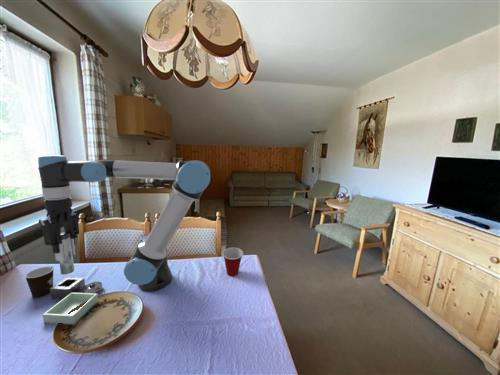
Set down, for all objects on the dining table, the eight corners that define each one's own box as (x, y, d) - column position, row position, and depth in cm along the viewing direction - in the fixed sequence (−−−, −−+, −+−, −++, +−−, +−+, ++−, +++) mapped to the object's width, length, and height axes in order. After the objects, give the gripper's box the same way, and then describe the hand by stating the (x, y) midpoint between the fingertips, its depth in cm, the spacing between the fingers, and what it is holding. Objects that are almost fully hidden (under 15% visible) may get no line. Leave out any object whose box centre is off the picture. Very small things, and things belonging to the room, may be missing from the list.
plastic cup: (219, 278, 106) (219, 256, 104) (225, 266, 116) (225, 246, 114) (240, 280, 104) (241, 258, 102) (244, 268, 115) (244, 248, 113)
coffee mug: (39, 301, 86) (35, 279, 85) (23, 297, 88) (19, 276, 86) (68, 284, 98) (65, 264, 96) (53, 281, 99) (50, 262, 98)
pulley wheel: (106, 286, 97) (105, 279, 96) (94, 296, 90) (93, 289, 89) (91, 285, 97) (90, 279, 96) (78, 296, 90) (77, 289, 90)
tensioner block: (85, 287, 96) (84, 277, 95) (70, 300, 88) (68, 289, 87) (68, 287, 96) (66, 277, 95) (51, 299, 88) (49, 288, 87)
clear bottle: (77, 269, 84) (72, 232, 81) (67, 274, 80) (62, 236, 77) (67, 268, 84) (62, 231, 81) (57, 274, 80) (52, 235, 77)
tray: (98, 301, 87) (97, 293, 87) (73, 324, 76) (72, 315, 75) (72, 300, 88) (71, 292, 87) (43, 323, 76) (42, 314, 75)
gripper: (69, 193, 85) (76, 246, 89) (21, 203, 69) (32, 268, 73) (86, 193, 85) (93, 247, 89) (43, 203, 68) (53, 269, 72)
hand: (66, 256), depth 81 cm, fingers closed on clear bottle, 4 cm apart
